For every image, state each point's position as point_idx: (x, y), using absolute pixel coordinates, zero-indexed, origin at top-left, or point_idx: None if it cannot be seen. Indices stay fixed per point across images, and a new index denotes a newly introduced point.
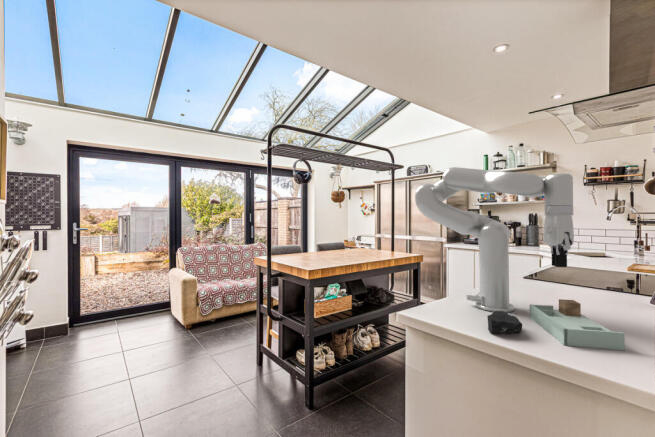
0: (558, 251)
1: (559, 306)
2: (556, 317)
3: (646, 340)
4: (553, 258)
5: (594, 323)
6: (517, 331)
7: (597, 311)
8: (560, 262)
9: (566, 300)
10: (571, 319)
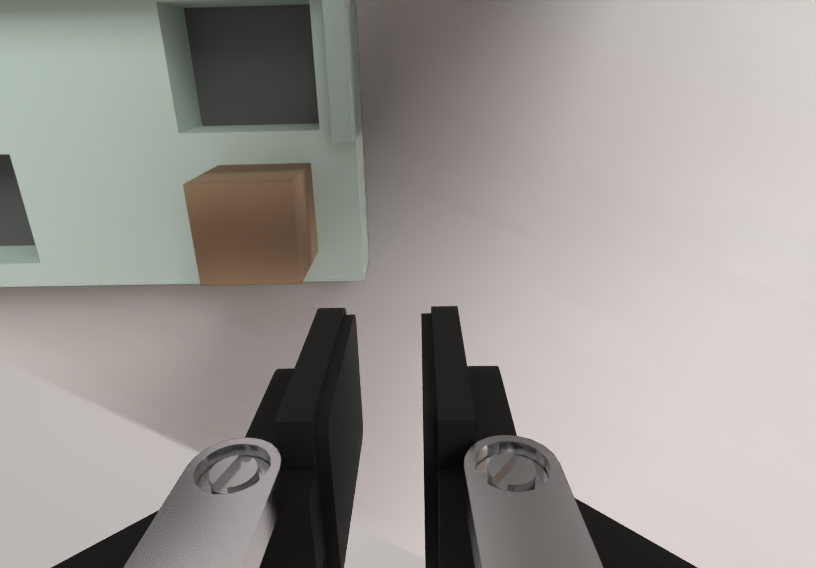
0: (166, 517)
1: (291, 171)
2: (149, 84)
3: (143, 418)
4: (424, 378)
5: (111, 266)
6: None
7: (572, 445)
8: (269, 391)
9: (268, 227)
10: (144, 168)
